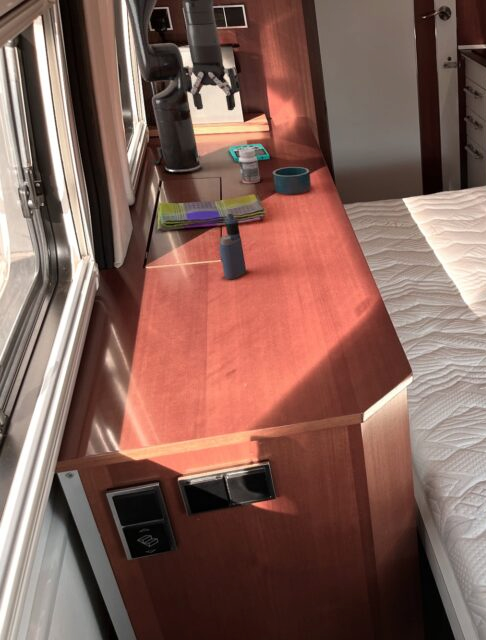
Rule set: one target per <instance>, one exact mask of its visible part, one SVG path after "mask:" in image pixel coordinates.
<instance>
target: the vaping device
mask: <svg viewBox="0 0 486 640" xmlns="http://www.w3.org/2000/svg"><path fill="white" fill-rule="evenodd" d="M225 224H226V225H225V229H226V235H223V236H220V237H219V240H220V242H219V247H218V248H219V254H220V259H221V264H222V272H223V275H224V277H225V278H226V279H227V280H236V279H237V278H240V277H241V276H243V275H244V274H246V273H247V266H246V261H245V260H246V259H245V254H244V249H243V243H242V242H243V241H242V237H241V233H240V232H241V231H240V226H239V223H238V220H237V218H234V217H233V214H228V218H227V219H225Z"/></svg>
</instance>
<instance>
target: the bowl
mask: <svg viewBox="0 0 486 640" xmlns="http://www.w3.org/2000/svg"><path fill="white" fill-rule="evenodd" d="M272 179H273V186H274V191H275V192H277V193H280V194H282V195H287V196H288V195H294V196H295V195H300V194H304V193H306V192H308V191H310V190H311V189H312V182H311V172H310V170H309V169H308V168H306V167H301V166H288V167H287V166H286V167H280V168H278V169H275V170H273V171H272Z"/></svg>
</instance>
